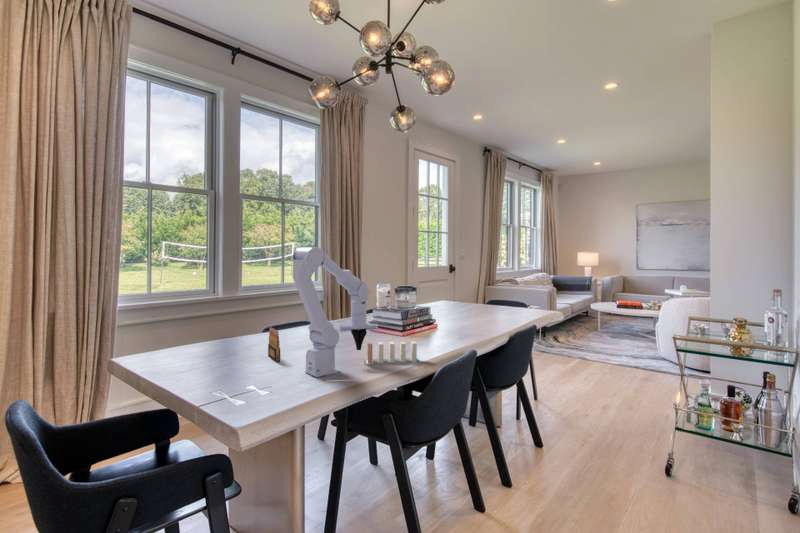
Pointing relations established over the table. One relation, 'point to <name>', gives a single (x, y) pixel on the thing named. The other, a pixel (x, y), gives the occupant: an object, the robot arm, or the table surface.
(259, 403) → the table surface
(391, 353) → the domino
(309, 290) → the robot arm
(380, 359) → the domino
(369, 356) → the domino placed
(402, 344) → the domino
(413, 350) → the domino
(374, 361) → the mat
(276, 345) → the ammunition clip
